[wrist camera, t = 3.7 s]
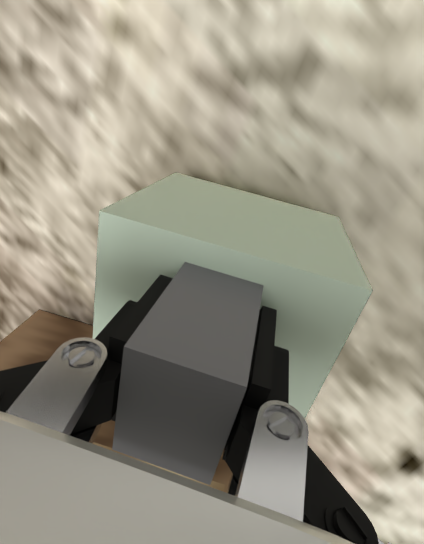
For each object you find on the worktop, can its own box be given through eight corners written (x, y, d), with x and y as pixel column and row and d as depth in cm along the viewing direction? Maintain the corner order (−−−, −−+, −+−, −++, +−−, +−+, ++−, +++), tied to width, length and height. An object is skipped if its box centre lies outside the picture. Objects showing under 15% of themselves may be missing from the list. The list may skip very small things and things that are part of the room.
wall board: (288, 362, 29) (301, 754, 11) (255, 435, 34) (230, 789, 16) (38, 288, 30) (-294, 531, 13) (41, 368, 35) (-194, 624, 18)
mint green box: (338, 216, 19) (427, 408, 7) (289, 333, 23) (287, 586, 11) (176, 172, 20) (-14, 267, 7) (156, 292, 24) (14, 480, 12)
